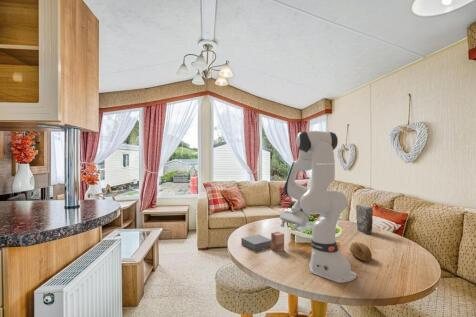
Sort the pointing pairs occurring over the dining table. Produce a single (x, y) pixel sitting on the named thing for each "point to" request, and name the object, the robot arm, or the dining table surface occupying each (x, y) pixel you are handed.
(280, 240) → the terracotta block
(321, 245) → the robot arm
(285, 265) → the dining table surface
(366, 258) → the bread roll
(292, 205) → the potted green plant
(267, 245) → the base block
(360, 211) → the stone block
